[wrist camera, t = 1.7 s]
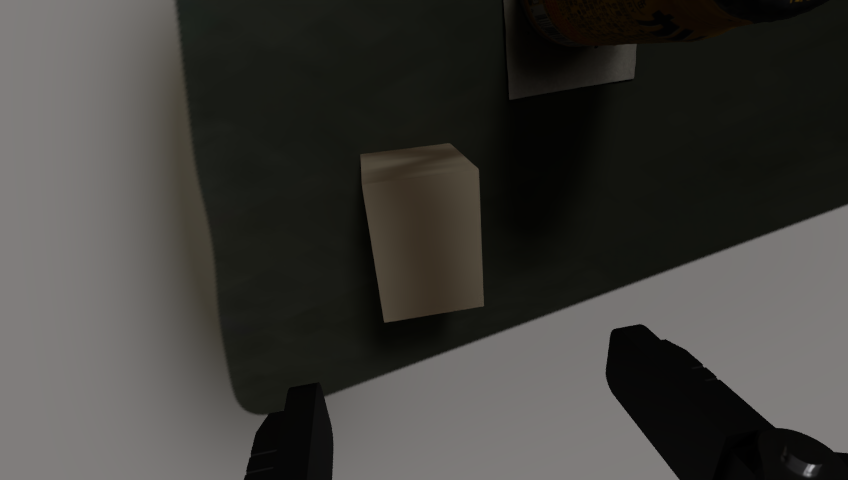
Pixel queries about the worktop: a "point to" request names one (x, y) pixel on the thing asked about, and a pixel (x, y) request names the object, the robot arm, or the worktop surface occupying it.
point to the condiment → (614, 35)
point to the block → (424, 230)
